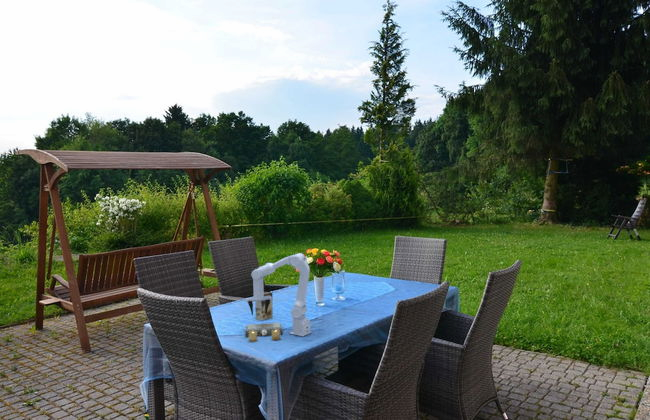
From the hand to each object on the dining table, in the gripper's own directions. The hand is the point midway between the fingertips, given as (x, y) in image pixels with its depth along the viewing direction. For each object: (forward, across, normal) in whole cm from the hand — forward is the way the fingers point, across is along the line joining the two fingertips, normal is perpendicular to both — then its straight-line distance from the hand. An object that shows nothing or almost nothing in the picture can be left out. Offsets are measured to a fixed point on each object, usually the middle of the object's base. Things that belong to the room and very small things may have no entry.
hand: (259, 313), depth 269 cm
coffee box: (+10, -7, -25) cm, 28 cm away
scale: (+10, -2, +4) cm, 11 cm away
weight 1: (+10, +6, +17) cm, 21 cm away
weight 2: (+10, -6, +19) cm, 22 cm away
